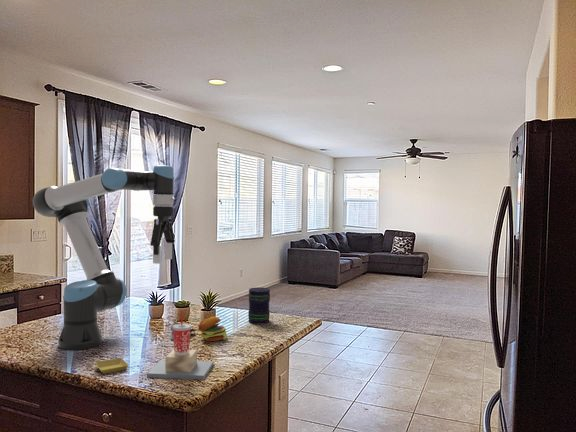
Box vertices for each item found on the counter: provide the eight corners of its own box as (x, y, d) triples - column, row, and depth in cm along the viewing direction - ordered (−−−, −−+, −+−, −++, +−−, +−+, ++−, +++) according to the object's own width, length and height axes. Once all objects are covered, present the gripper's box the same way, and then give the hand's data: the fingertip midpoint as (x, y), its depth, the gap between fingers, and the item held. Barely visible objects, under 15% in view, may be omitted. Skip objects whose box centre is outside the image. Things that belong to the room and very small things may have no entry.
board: (146, 377, 145) (147, 373, 145) (160, 362, 158) (160, 359, 158) (204, 379, 144) (204, 375, 144) (213, 364, 157) (213, 361, 157)
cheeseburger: (223, 343, 181) (217, 318, 181) (197, 347, 184) (192, 322, 184) (231, 335, 191) (225, 311, 191) (207, 340, 193) (201, 316, 194)
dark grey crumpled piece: (158, 336, 190) (175, 342, 182) (160, 320, 191) (177, 325, 183) (183, 336, 199) (200, 341, 191) (185, 320, 200) (203, 324, 192)
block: (165, 371, 148) (165, 357, 147) (173, 362, 156) (173, 349, 155) (190, 372, 147) (190, 357, 147) (196, 363, 155) (197, 349, 155)
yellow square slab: (128, 371, 151) (128, 365, 151) (100, 376, 146) (100, 370, 146) (121, 363, 158) (121, 357, 158) (94, 368, 153) (94, 362, 153)
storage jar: (245, 320, 218) (245, 288, 218) (264, 318, 222) (265, 286, 222) (252, 325, 209) (253, 292, 209) (272, 323, 213) (273, 290, 213)
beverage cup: (173, 357, 147) (174, 313, 147) (170, 351, 153) (170, 309, 152) (193, 355, 150) (193, 311, 149) (189, 349, 155) (189, 307, 155)
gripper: (162, 206, 167) (161, 265, 167) (182, 206, 192) (181, 257, 192) (141, 206, 167) (141, 265, 168) (164, 205, 192) (164, 257, 193)
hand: (162, 261), depth 180 cm, fingers open, 13 cm apart
